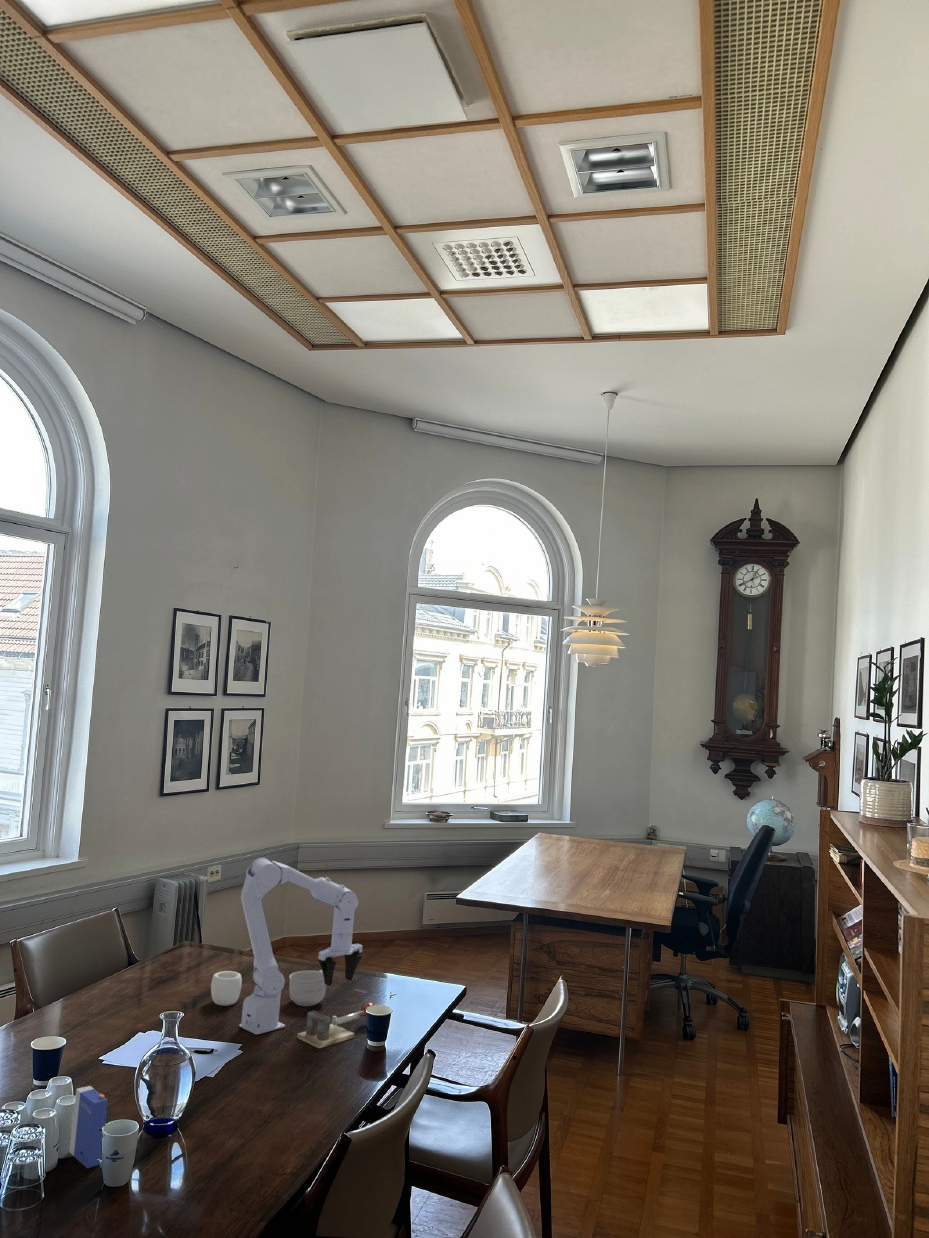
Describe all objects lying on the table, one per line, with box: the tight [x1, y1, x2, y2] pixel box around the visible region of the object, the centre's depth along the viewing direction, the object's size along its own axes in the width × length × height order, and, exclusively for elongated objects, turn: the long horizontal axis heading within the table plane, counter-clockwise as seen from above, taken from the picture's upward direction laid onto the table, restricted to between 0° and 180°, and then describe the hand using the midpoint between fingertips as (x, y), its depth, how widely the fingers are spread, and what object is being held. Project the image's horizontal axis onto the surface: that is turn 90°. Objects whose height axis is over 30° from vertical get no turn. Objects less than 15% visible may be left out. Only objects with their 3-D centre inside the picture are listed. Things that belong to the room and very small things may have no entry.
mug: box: [210, 970, 243, 1007], centre depth 259 cm, size 12×8×8 cm
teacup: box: [288, 969, 327, 1007], centre depth 263 cm, size 14×11×8 cm
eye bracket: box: [296, 1010, 355, 1049], centre depth 237 cm, size 12×9×6 cm
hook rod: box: [331, 1002, 376, 1026], centre depth 244 cm, size 14×5×5 cm, turn 139°
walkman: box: [68, 1085, 109, 1169], centre depth 170 cm, size 8×3×12 cm, turn 47°
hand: (338, 982), depth 252 cm, fingers open, 7 cm apart
